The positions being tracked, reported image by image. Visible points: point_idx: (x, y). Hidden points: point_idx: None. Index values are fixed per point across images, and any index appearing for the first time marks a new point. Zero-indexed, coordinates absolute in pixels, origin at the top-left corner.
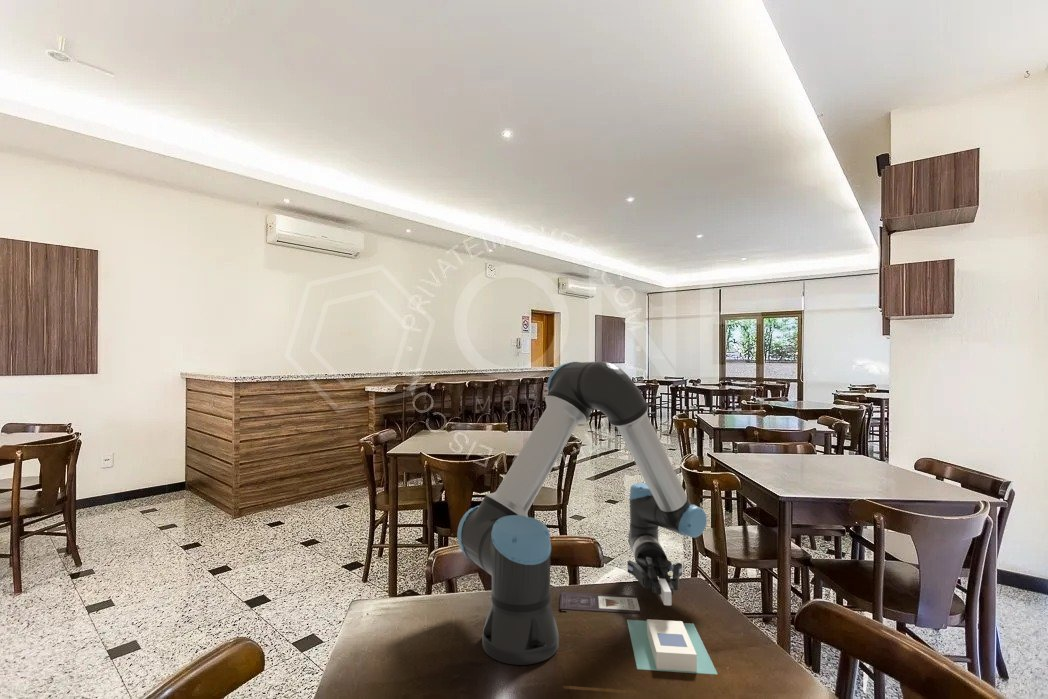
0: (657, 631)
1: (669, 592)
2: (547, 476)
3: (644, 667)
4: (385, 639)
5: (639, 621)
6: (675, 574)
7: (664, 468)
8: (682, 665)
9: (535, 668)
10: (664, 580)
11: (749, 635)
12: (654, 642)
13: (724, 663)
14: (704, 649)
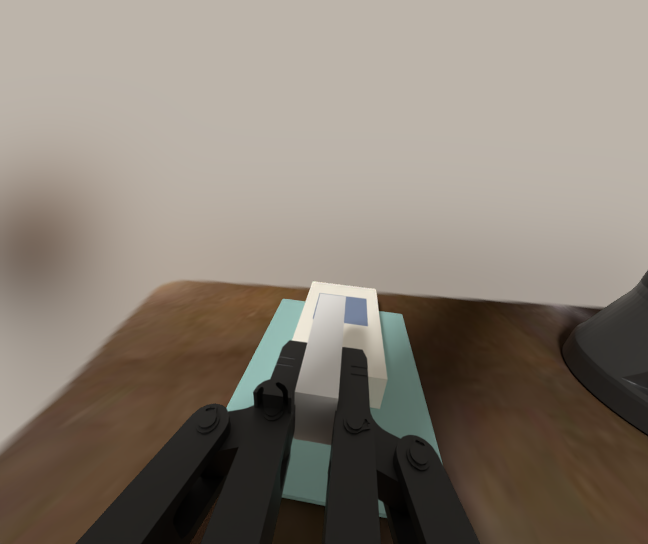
0: (365, 330)
1: (326, 296)
2: None
3: (390, 315)
4: None
5: None
6: (152, 490)
7: None
8: None
9: (562, 332)
10: (309, 372)
11: (71, 403)
12: (376, 305)
13: (249, 321)
14: (262, 345)
